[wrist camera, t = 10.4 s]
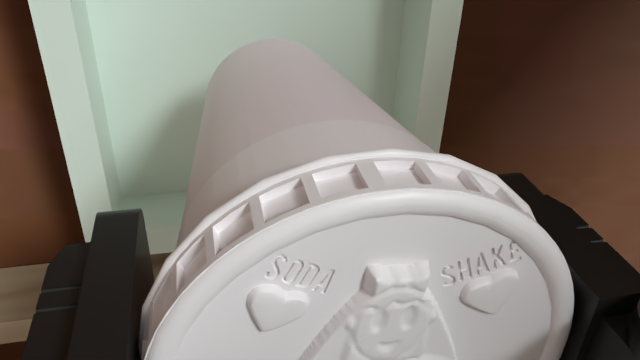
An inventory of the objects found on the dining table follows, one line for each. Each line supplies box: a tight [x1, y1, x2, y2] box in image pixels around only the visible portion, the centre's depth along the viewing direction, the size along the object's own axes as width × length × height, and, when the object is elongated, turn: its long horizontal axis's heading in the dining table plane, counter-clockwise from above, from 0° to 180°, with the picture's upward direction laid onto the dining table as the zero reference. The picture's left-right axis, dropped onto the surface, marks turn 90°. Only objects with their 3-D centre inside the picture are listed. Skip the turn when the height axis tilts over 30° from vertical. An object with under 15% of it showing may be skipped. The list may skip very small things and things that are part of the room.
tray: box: [28, 0, 464, 255], centre depth 18 cm, size 12×12×3 cm
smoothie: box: [138, 39, 574, 360], centre depth 10 cm, size 6×6×14 cm
